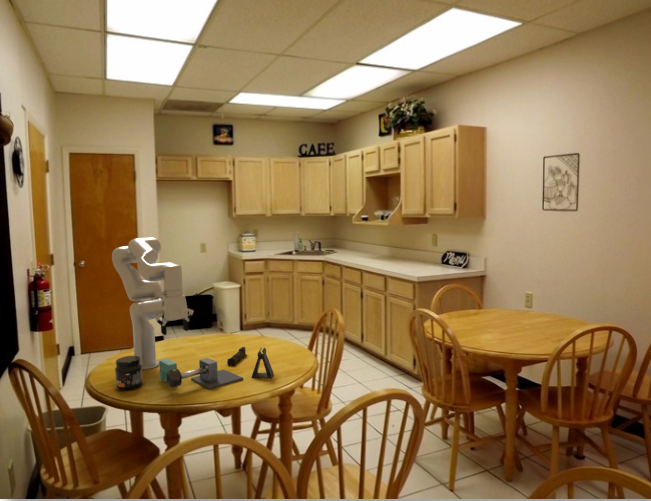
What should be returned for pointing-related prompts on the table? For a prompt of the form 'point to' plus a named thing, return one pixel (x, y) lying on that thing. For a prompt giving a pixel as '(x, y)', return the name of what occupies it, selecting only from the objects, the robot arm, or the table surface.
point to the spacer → (166, 368)
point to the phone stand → (266, 363)
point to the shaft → (181, 376)
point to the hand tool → (236, 357)
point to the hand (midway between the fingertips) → (175, 332)
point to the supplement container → (128, 373)
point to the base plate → (219, 379)
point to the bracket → (209, 370)
